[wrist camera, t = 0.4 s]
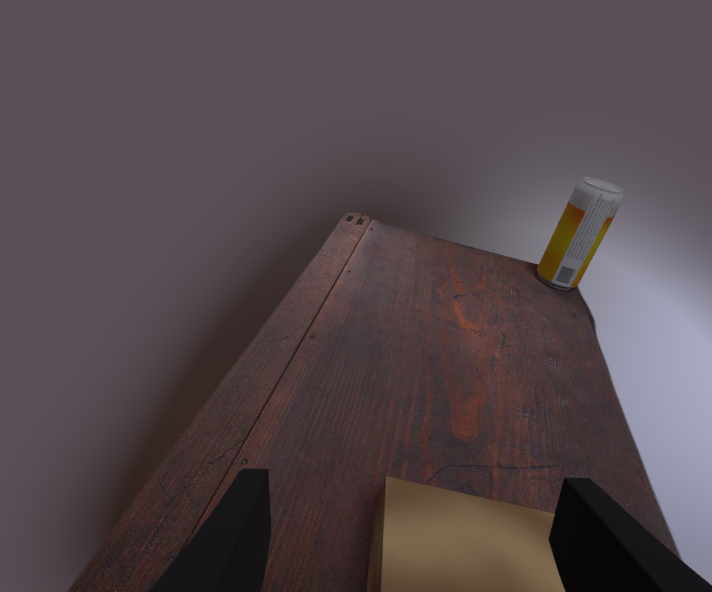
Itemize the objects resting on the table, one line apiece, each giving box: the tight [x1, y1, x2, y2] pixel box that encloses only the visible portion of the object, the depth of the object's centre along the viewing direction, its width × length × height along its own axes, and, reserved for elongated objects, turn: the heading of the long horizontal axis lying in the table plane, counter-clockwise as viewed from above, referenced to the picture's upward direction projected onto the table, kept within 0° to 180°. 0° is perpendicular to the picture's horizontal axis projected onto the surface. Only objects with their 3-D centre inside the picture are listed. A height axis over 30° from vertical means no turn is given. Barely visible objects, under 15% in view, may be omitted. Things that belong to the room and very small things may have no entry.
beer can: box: [537, 178, 624, 290], centre depth 65 cm, size 6×6×15 cm
